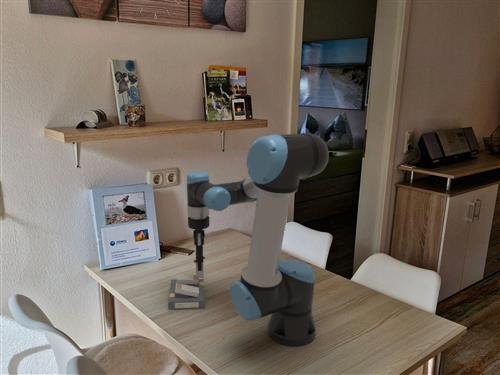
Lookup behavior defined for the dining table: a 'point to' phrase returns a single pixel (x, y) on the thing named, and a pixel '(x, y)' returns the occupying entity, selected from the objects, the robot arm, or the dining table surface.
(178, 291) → the rocker front
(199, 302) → the switch unit
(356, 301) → the dining table surface
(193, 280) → the rocker rear
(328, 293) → the dining table surface
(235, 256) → the dining table surface
